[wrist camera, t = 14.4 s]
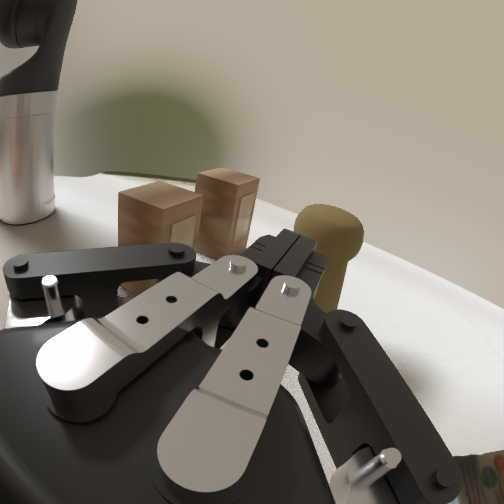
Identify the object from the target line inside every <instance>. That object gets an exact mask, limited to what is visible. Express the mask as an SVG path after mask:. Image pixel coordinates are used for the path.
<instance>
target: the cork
mask: <svg viewBox="0 0 504 504" xmlns="http://www.w3.org/2000/svg"><path fill="white" fill-rule="evenodd" d="M294 232H295V233H298V234H301V235H304V236H306V237H309V238H312V239H314V240H317V241H318V243H317V247H316V250H315V252H317V253H319V254H322V255H325V256H326V259H327V262H328V263H327V266H326V269H325V271H324V274H323V277H322V280H321V282H320V285H319V288H318V290H317V293H316V295H315V297H314V302H315V303H316V305H317V306H318V307H319V308H320V309H321V310H323V311H324V312H326V313H328V312H330V311H332V310H337V306H338V302H339V298H340V294H341V290H342V286H343V281H344V277H345V272H346V268H347V263H348V261H349V260H351V259H352V258H354V257H355V256H356V255H357V253H358V252H359V250H360V248H361V246H362V243H363V236H364V230H363V226H362V224H361V222H360V221H359V220H358V218H357V217H355V216H354V215H353V214H351V213H349V212H347V211H345V210H342V209H340V208H337V207H334V206H330V205H324V204H313V205H309V206H306V207H305V208H304V209H303V210H302V211H301V212H300V213H299V215H298V216H297V218H296V221H295V225H294Z"/></svg>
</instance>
